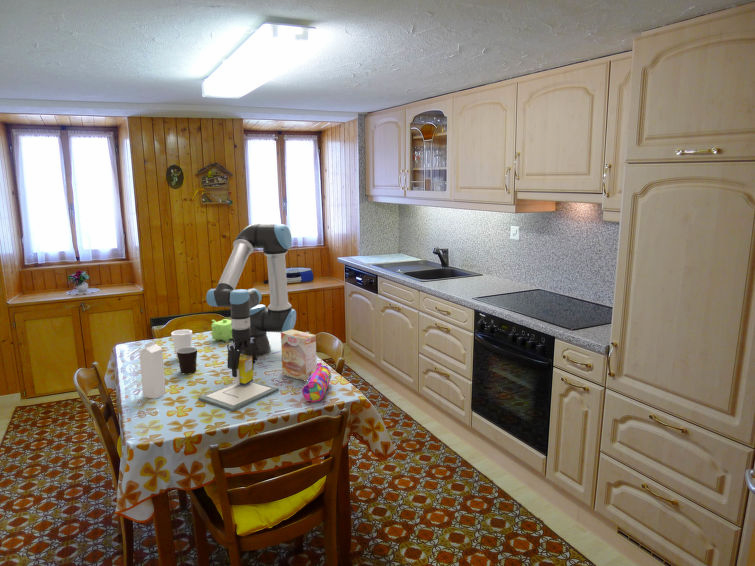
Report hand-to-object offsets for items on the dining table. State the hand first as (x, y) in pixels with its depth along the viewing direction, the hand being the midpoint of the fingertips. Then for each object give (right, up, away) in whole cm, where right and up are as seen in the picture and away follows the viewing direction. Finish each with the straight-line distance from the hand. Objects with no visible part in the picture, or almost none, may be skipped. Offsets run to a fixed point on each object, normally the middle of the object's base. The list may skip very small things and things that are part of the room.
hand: (243, 380), depth 219 cm
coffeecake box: (+21, 0, +13) cm, 25 cm away
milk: (-33, -4, -8) cm, 35 cm away
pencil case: (+31, -4, -5) cm, 32 cm away
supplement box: (0, -1, 0) cm, 1 cm away
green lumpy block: (-27, +10, +67) cm, 73 cm away
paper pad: (0, -4, -8) cm, 9 cm away
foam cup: (-38, +4, +36) cm, 53 cm away
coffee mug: (-29, +1, +20) cm, 35 cm away
